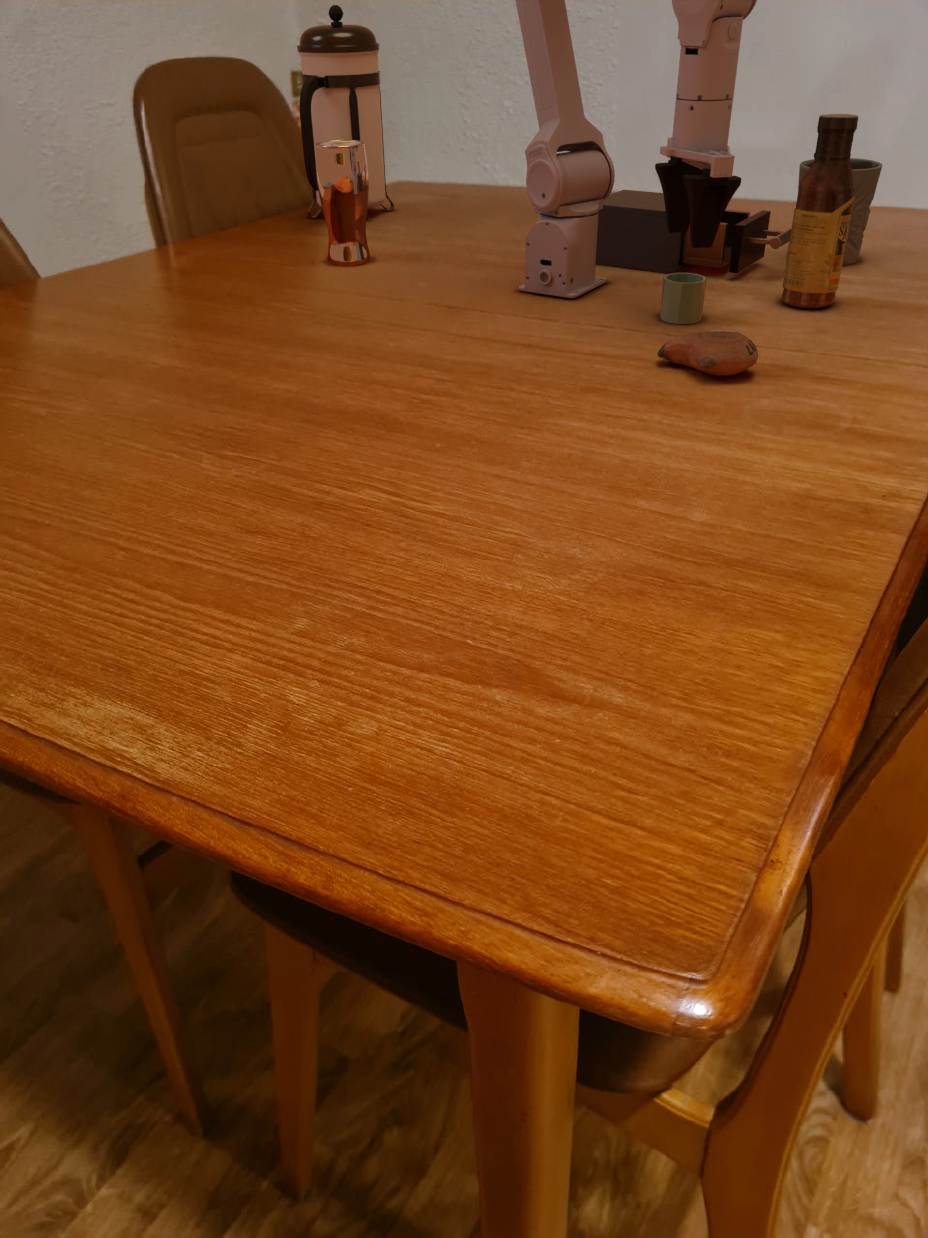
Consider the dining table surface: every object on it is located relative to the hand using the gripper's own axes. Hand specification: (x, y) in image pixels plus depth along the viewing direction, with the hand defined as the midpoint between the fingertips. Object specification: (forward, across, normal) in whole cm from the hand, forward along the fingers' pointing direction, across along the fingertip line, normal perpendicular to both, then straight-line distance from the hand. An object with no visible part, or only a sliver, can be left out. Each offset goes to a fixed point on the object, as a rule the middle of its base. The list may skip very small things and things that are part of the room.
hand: (689, 239), depth 104 cm
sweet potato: (+9, +17, -3) cm, 20 cm away
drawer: (+8, -21, +13) cm, 26 cm away
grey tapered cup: (+9, -23, +28) cm, 38 cm away
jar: (+9, 0, 0) cm, 9 cm away
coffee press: (+9, -68, -34) cm, 77 cm away
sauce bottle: (+9, -3, +17) cm, 19 cm away
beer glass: (+9, -36, -36) cm, 52 cm away
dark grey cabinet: (+9, -28, +5) cm, 30 cm away
